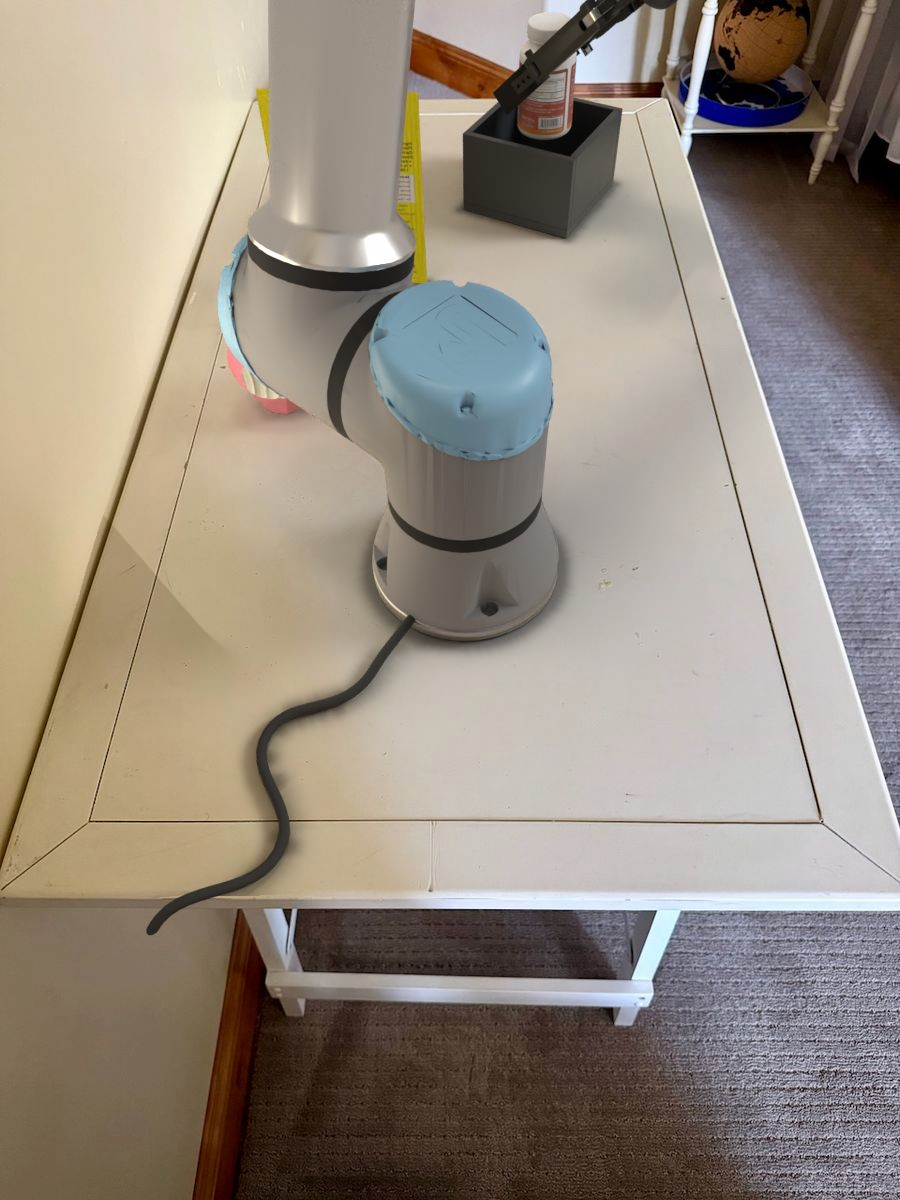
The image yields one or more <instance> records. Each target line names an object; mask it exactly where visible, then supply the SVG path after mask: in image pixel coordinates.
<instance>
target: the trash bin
mask: <svg viewBox="0 0 900 1200" xmlns="http://www.w3.org/2000/svg"><path fill="white" fill-rule="evenodd" d="M623 109H624V108H622V107H617V106H613V105H609V104H604V103H600V102H596V101H591V100H587V99H582V98H580V97H574V98H573V112H572V123H571V128H570V130H569V131H568V132H567V133H566V134H565V135H563V136H562V137H560V138H557V139H552V140H538V139H533V138H529V137H527V136H525V135H523V134H522V133H521V132H520V130H519V128H518V106H517V107H516V108H515V109H514V110H512V111H511V112H510V113H509V114H508V115H507V114H506V113H505V111H504V110H503V108H502V107H501V105H500V104H499V102H498V101H497V102H496V103H495V104H494V105H492V107H491V108H489V109H488V110H487V111H486V112H485V113H484V114H482V115H481V116H480V117H479V118H478V119H477V120H476V121H475V122H474V123H473V124H472V125H471V126H469V128H467V129H466V130H465V131H464V132H462V201H463V203H462V205H463V207H462V209H463V211H467V212H470V213H474V214H478V215H481V216H485V217H489V218H492V219H495V220H498V221H502V222H507V223H509V224H512V225H513V224H514V225H517V226H521V227H524V228H528V229H531V230H535V231H538V232H542V233H545V234H548V235H552V236H556V237H559V238H564V239H568V237H569V236H570V235H571V234H572V233H573V231H574V230H575V229H576V228H577V227H578V226H579V225H580V223H582V221H584V219H585V218H586V217H587V215H588V214H589V213H590V212H591V210H592V209H594V207H595V206H596V205H597V204H598V203H599V201H600V200H601V199H602V198H603V197H604V195H606V193H607V192H608V191H609V189H610V188H611V187H612V186H613V185H614V180H615V173H616V164H617V156H618V149H619V141H620V132H621V125H622V116H623Z"/></svg>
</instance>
